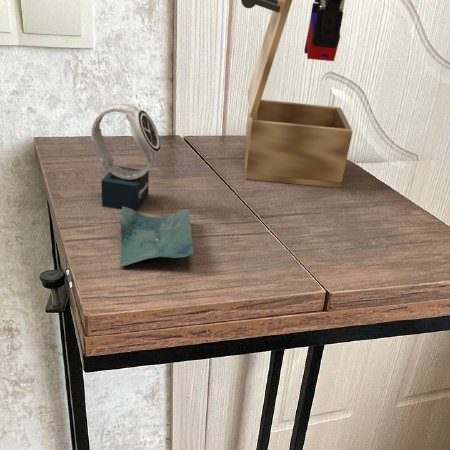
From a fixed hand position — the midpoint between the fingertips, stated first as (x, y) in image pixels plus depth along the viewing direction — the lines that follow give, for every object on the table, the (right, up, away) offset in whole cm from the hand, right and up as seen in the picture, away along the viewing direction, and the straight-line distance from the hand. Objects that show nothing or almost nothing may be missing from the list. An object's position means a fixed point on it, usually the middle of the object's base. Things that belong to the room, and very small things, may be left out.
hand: (322, 41), depth 82 cm
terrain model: (-21, -30, -12) cm, 38 cm away
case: (-3, -13, +11) cm, 17 cm away
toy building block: (0, -1, +2) cm, 2 cm away
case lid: (-7, -1, +1) cm, 7 cm away
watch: (-25, -22, -3) cm, 34 cm away
